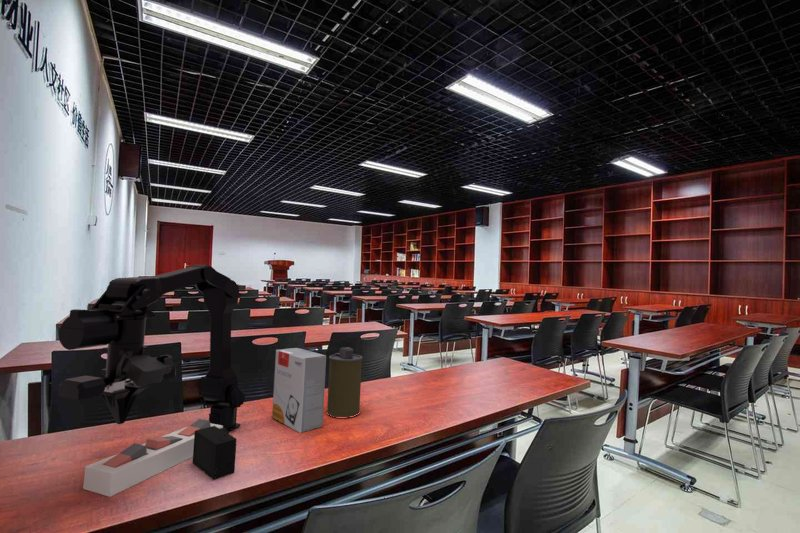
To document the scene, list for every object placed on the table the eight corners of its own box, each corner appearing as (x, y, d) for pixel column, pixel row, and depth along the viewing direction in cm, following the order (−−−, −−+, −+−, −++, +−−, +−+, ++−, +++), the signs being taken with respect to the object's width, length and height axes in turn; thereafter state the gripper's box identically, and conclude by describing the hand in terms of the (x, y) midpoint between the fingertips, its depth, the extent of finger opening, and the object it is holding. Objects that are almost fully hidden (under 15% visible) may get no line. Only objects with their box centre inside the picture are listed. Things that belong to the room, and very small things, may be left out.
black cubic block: (240, 471, 77) (242, 436, 78) (213, 480, 73) (216, 444, 74) (218, 455, 84) (220, 423, 85) (192, 463, 80) (194, 430, 80)
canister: (366, 414, 115) (369, 349, 116) (337, 421, 108) (340, 351, 110) (348, 405, 123) (350, 344, 125) (319, 411, 117) (322, 346, 118)
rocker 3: (200, 424, 91) (199, 418, 91) (210, 426, 90) (209, 420, 90) (178, 439, 85) (177, 433, 85) (189, 441, 84) (188, 435, 84)
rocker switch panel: (209, 433, 96) (210, 417, 96) (231, 437, 94) (232, 421, 94) (83, 488, 69) (85, 466, 69) (109, 496, 66) (111, 473, 67)
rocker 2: (169, 442, 83) (171, 436, 84) (180, 445, 82) (182, 438, 83) (145, 446, 78) (147, 438, 78) (156, 448, 77) (158, 441, 77)
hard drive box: (270, 418, 109) (274, 349, 110) (294, 412, 114) (297, 347, 116) (300, 433, 98) (304, 357, 99) (324, 426, 104) (327, 354, 105)
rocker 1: (135, 449, 76) (134, 443, 75) (146, 452, 75) (145, 445, 74) (104, 470, 70) (102, 464, 70) (116, 473, 69) (114, 467, 69)
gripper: (104, 353, 62) (96, 450, 61) (197, 339, 79) (192, 414, 78) (60, 347, 65) (52, 438, 64) (158, 335, 83) (153, 407, 82)
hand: (120, 423), depth 72 cm, fingers closed
